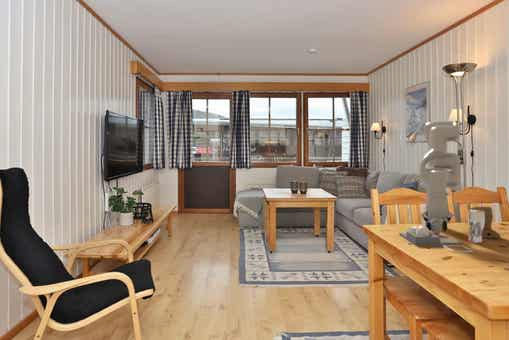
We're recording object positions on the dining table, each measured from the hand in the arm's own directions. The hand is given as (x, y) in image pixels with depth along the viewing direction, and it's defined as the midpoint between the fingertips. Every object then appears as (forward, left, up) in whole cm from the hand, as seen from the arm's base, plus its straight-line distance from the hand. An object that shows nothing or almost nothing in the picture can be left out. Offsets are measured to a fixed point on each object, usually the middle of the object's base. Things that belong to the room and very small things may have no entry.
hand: (436, 229), depth 189 cm
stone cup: (-4, +26, -4) cm, 27 cm away
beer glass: (+8, +15, -4) cm, 17 cm away
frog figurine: (0, 0, -2) cm, 2 cm away
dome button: (+10, -11, -2) cm, 15 cm away
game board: (+11, -6, -4) cm, 13 cm away
